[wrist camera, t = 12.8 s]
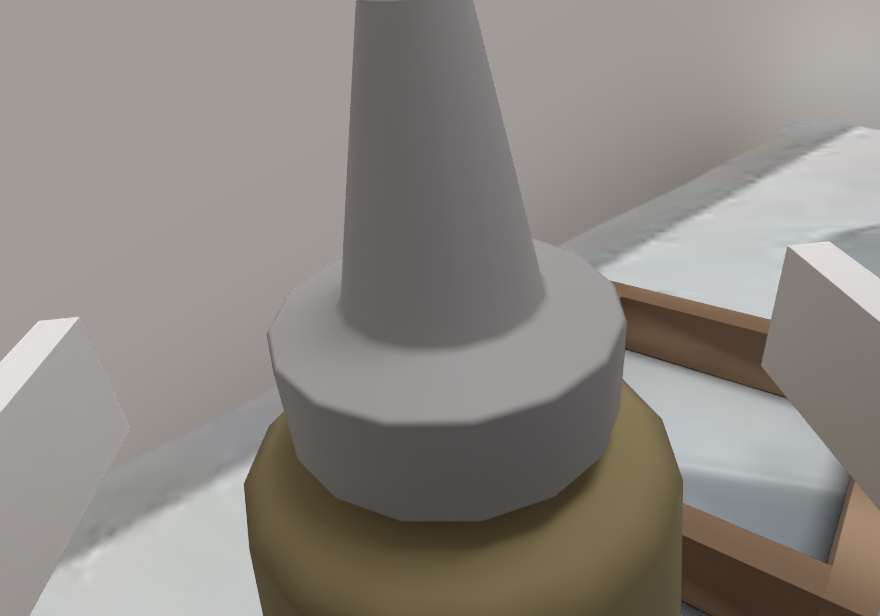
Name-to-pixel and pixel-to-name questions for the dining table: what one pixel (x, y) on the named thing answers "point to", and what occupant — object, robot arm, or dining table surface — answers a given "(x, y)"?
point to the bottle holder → (724, 544)
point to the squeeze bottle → (454, 378)
